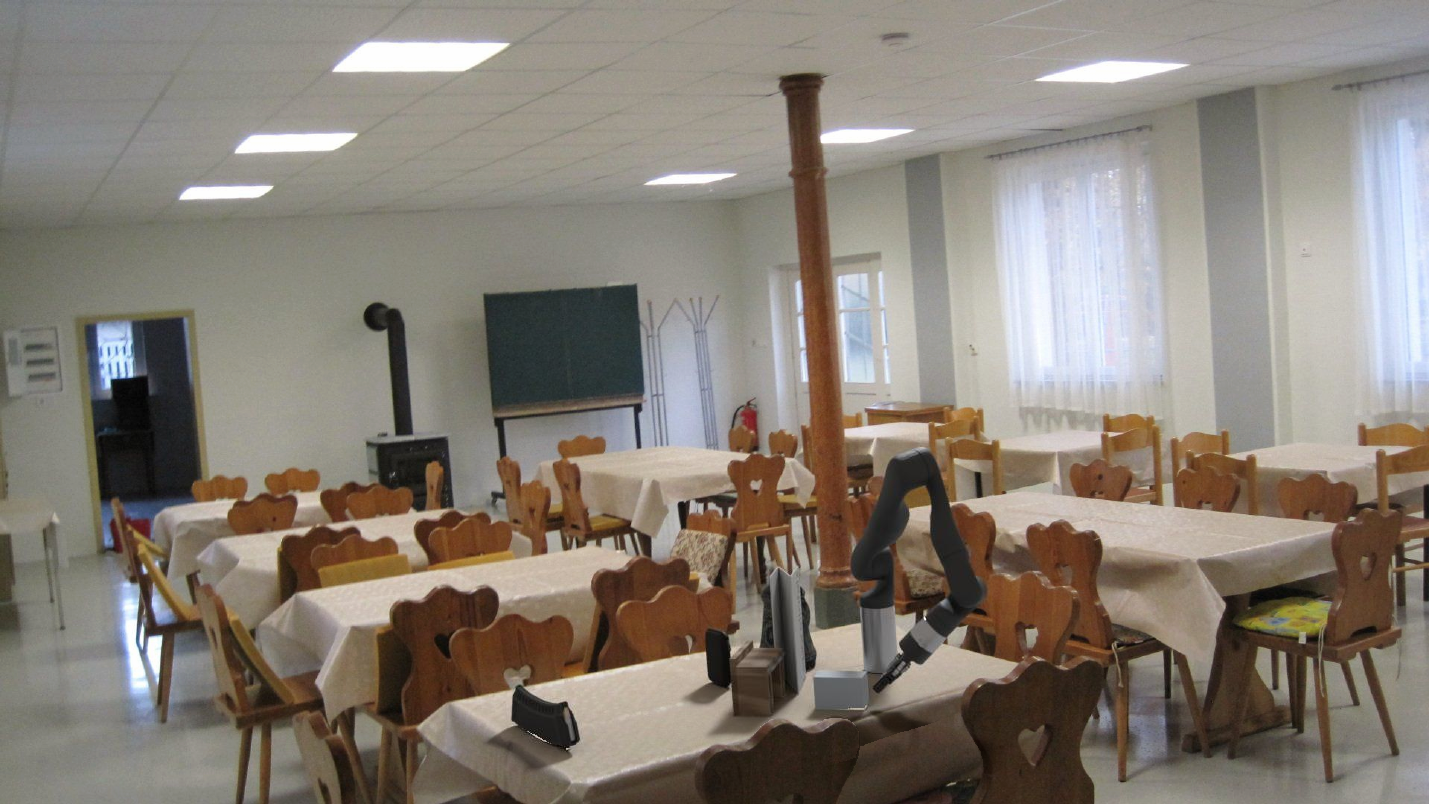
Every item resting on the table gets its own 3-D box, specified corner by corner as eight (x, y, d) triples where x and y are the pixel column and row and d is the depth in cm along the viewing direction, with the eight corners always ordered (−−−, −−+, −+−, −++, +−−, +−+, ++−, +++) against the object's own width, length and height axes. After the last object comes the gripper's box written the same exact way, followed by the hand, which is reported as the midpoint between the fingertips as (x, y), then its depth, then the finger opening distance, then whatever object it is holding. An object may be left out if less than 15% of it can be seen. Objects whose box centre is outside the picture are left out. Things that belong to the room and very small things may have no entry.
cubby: (751, 694, 313) (747, 640, 312) (787, 694, 310) (783, 640, 310) (733, 716, 296) (729, 658, 295) (771, 716, 293) (767, 658, 293)
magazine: (504, 688, 302) (554, 674, 278) (516, 685, 304) (567, 671, 280) (518, 758, 299) (569, 751, 275) (530, 755, 301) (582, 747, 276)
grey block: (821, 702, 302) (818, 670, 302) (869, 703, 299) (867, 671, 298) (815, 709, 297) (813, 677, 296) (864, 711, 293) (862, 678, 293)
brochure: (799, 693, 311) (791, 576, 309) (777, 693, 312) (769, 577, 311) (806, 677, 325) (798, 565, 323) (785, 678, 326) (777, 566, 324)
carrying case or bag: (737, 688, 320) (733, 632, 319) (727, 690, 318) (723, 634, 317) (715, 680, 329) (711, 625, 328) (705, 682, 327) (701, 627, 326)
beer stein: (778, 655, 350) (772, 568, 349) (837, 661, 339) (831, 572, 338) (746, 670, 337) (739, 580, 336) (806, 677, 325) (800, 584, 324)
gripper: (914, 622, 298) (867, 672, 302) (908, 636, 286) (859, 687, 290) (937, 644, 297) (890, 693, 301) (932, 658, 285) (883, 710, 288)
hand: (875, 690), depth 295 cm, fingers closed
